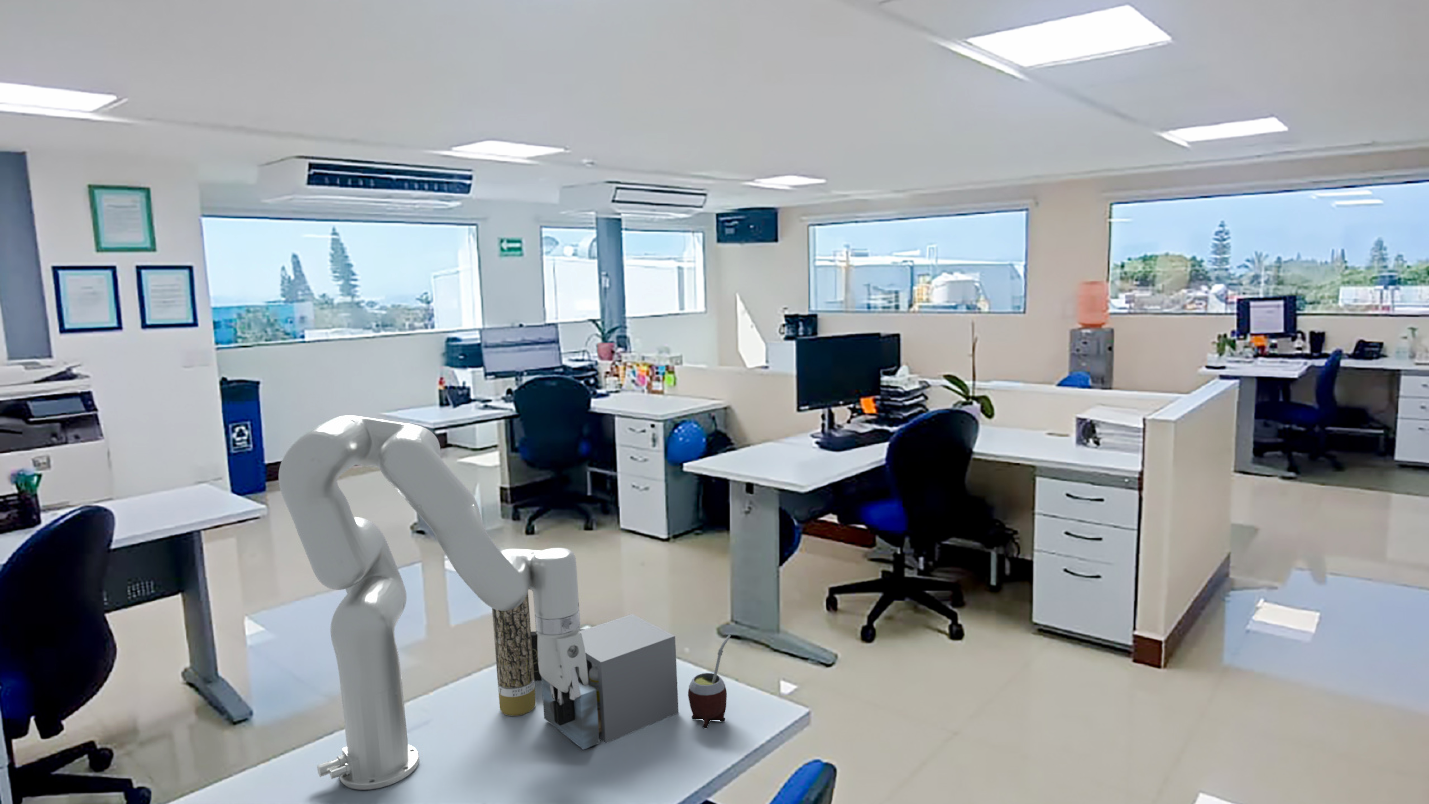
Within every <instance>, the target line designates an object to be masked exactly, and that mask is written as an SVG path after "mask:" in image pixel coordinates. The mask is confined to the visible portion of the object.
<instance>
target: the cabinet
mask: <svg viewBox="0 0 1429 804" xmlns="http://www.w3.org/2000/svg"><path fill="white" fill-rule="evenodd" d="M583 629H584V630H581V634H582V638H583V642H584V647H585V653H586V661H587V669H588V682H589V670H590V669H591V668H592V663H593V664H595V665H596V666H598V678H599V695H600V712H601V729H602V732H599V741H600V740H601V741H602V742H603V743H604V744H608V743H611V742H612V741H615V740H617V739H620V738H621V737H625V736H627V735H629V734H632V733H634V732H636V731H639V730H640V729H643V728H646V727H649V726H650V725H653V724H655V723H657V722H660V721H662V720H664V719H666V718H669V717H672V716H674V715H676V714H678V713H679V696H678V695H679V693H678V691H679V690H678V675H677V674H678V672H677V671H678V670H677V669H678V667H677V651H676V650H677V649H676V648H677V647H676V646H677V645H676V635H674V634H672V633H670V632H668V631H666V630H664V629H663V628H660V627H659V626H656V625H655V624H653V623H651V622H649V621H647V620H645V619H643V618H641V617H639V616H637V615H635V614H633V613H631V614H629V615H625V616H621V617H618V618H616V619H613V620H610V621H606V622H604V623H601V624H597V625H594V626H591V627H588V628H583ZM673 714H674V715H673Z"/></svg>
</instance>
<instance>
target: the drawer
mask: <svg viewBox="0 0 1429 804" xmlns="http://www.w3.org/2000/svg"><path fill="white" fill-rule="evenodd" d="M541 679H542V681H541V691H542V706H543V719H544V720H545V721H547V722H548V723H549V724H550V725H551V726H553V727H554V728H556V729H557V730H558V731H559V732H561V733H562V734H563V735H564V736H566V737H567V738H568V739H570V740H571V741H572V742H573V743H575V744H576V745H577V746H578V747H579V748H581V749H582V750H583V751H584V750H586V749H588V748H591V747H593V746H596V745H597V744H600V739H599V732H602V729H601V712H600V709H599V710H597V695H596V689H595V688H593V687H592V686H590V685H589V682H588V685H586V686H583V685H582V684H580V683H579V682H578V683H579V688H580V694H581V698H578V699H576V700H574V709H575V720H573V721H571V722H568V723H566V724H563V725H561V726H560V725H558V724H557V723H556V722H555V721H554V708H553V701H555V700H553V699H552V697H551V690H550V686H549V683H548V682H547V681H546V680H545V679H544V678H542V676H541Z"/></svg>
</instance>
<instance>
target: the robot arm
mask: <svg viewBox="0 0 1429 804" xmlns="http://www.w3.org/2000/svg"><path fill="white" fill-rule="evenodd" d="M440 454H441V446H440V442H439V439H438V438H437V436H436V435H435V434H434V432H432V431H431V430H429V429H428V428H427V427H423V426H421V425H417V424H412V423H404V422H398V421H392V420H391V421H390V420H385V419H378V418H372V417H365V416H358V415H340V416H335V417H334V418H331V419H328V420H327V421H325V422H323V423H320V424H319V425H316V426H314V427H313V428H311V429H309V430H308V431H307V432H305V433H304V434H303V435H302V436H300V437H299V438H298V439H297V440H296V441H295V442H294V443H293V444H292V445H291V446H290V447H289V448H288V450H287V451H286V452H285V453H284V456H283V458H282V460H281V462H280V465H279V470H278V485H279V491H280V493H281V496H282V498H283V500H284V503H285V505H286V507H287V510H288V512H289V514H290V517H291V519H292V521H293V524H294V526H295V529H296V533H297V534H298V537H299V540H300V542H301V545H302V547H303V550H304V552H305V554H306V556H307V559H308V561H309V564H310V566H311V569H312V571H313V574H314V575H315V577H316V579H317V580H318V581H319V582H320V583H321V584H322V585H323V586H324V587H326V588H328V589H330V590H335V591H341V590H345V591H346V595H345V596H344V597H343V599H342V600H341V601H340V603H339V604H338V605H337V607H336V609H335V610H334V612H333V614H332V618H331V623H330V639H331V643H332V647H333V650H334V654H335V659H336V663H337V669H338V676H339V685H340V691H341V693H340V694H341V702H342V703H341V704H342V710H343V711H342V713H343V721H344V722H343V723H344V730H345V741H346V742H345V743H346V746H345V747H343V748H341V750H342V751H341V752H342V754H340V755H338V756H336V759H332V760H328V761H326V762H323V763H321V764H318V765H316V766H317V767H316V768H317V774H318V776H319V777H320V778H321V777H324V776H326V775H329V777H330V779H331V780H333V779H335V778H339V779H340V782H341V783H342V784H343V785H344V786H346V787H347V788H349V789H352V790H353V789H354V790H361V791H362V790H365V791H367V790H374V789H379V788H380V789H381V788H384V787H387V786H390V785H394V784H396V783H398V782H400V781H402V780H403V779H405V778H406V777H408V776H410V774H412V773H413V772H414V771H415V770H416V768H417V767H418V765H419V761H420V757H419V756H420V755H419V751H418V750H417V748H416V747H414V746H412V745H410V744H409V743H408V741H409V740H408V731H407V730H408V729H407V719H406V709H405V700H404V699H405V698H404V689H403V686H404V685H403V679H402V669H401V660H400V655H399V650H398V646H397V645H398V644H397V643H396V642H397V641H396V637H395V630H396V625H397V624H398V621H399V619H400V618H401V615H402V614H403V612H404V610H405V608H406V604H407V591H406V585H405V584H404V581H403V578H402V575H401V573H400V571H399V568H398V566H397V564H396V561H395V559H394V556H393V553H392V551H391V549H390V546H389V543H388V540H387V539H386V537H385V535H384V533H383V531H382V530H381V529H380V527H379V526H377V525H376V524H375V523H374V522H373V521H371V520H369V519H367V518H366V517H365V518H364V517H360V516H359V517H358V516H354V515H353V512H352V510H351V507H350V505H349V504H350V503H349V501H348V499H347V497H346V496H345V494H344V493H343V491H342V489H341V488H340V487H339V485H338V479H339V478H340V476H341V475H343V474H344V473H346V472H347V471H349V470H350V469H351V468H353V467H354V466H362V467H363V466H364V467H371V468H378V469H379V470H380V472H381V474H382V475H383V476H384V478H385V479H386V480H387V481H388V482H389V483H390V484H391V486H392V487H393V488H394V490H396V491H397V492H398V494H399V495H400V496H401V497H402V498H403V499H404V500H405V502H407V504H408V505H410V507H411V508H412V509H413V510H414V511H415V512H416V513H417V514H418V516H419V517H420V518H421V519H422V521H424V523H425V524H426V525H427V527H429V528H430V530H431V531H432V533H433V534H434V536H435V539H436V541H437V542H438V544H439V546H440V548H441V549H442V551H443V552H444V554H445V556H446V557H447V560H448V561H449V562H450V564H451V565H452V568H453V569H454V570H455V572H456V573H457V574H458V576H459V577H460V578H461V580H463V582H464V583H465V585H467V586H468V588H470V589H471V590H472V592H473V593H474V594H475V595H476V596H477V597H478V598H479V599H480V600H481V601H482V602H483V603H484V604H485V605H487V606H488V607H489V608H491V609H492V608H493V609H496V610H500V611H508V610H512V609H514V608H516V607H518V606H519V605H520V604H521V603H522V602H523V601H524V600H525V598H526V596H527V593H528V594H529V590H531V591H532V593H533V594H532V596H533V607H534V618H535V619H534V620H535V623H534V625H535V631H536V633H537V634H538V636H537V650H538V666H539V672H540V675H541V676H542V678H544V679H545V680H546V681H547V682H548V683H549V686H550V690H551V697H552V699H553V700H555V701H553V708H554V721H555V722H556V723H557V724H558V725H560V726H561V725H563V724H566V723H568V722H571V721H573V720H575V709H574V700H576V699H578V698H581V694H580V688H579V683H580V684H582V685H583V686H586V685H588V669H587V661H586V653H585V647H584V642H583V638H582V634H581V631H580V630H579V629H581V616H580V615H581V614H580V602H579V586H578V570H577V568H578V567H577V560H576V559H577V558H576V555H575V553H574V552H573V551H572V550H570V549H569V548H566V547H551V548H545V549H542V550H540V549H538V550H537V549H525V548H506V549H502V550H500V549H499V548H498V547H497V545H496V544H495V542H494V541H493V539H492V538H491V537H490V535H489V533H488V532H487V529H486V527H485V525H484V522H483V520H482V516H481V512H480V507H479V505H478V502H477V500H476V498H475V496H474V494H473V493H472V492H471V491H470V489H468V488H467V487H466V485H465V484H464V483H463V482H462V481H461V480H460V478H458V475H456V474H455V473H454V472H453V471H452V469H451V468H450V467H449V466H448V465H447V464H446V462H444V460H443V458H441V457H440ZM578 682H579V683H578Z"/></svg>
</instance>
